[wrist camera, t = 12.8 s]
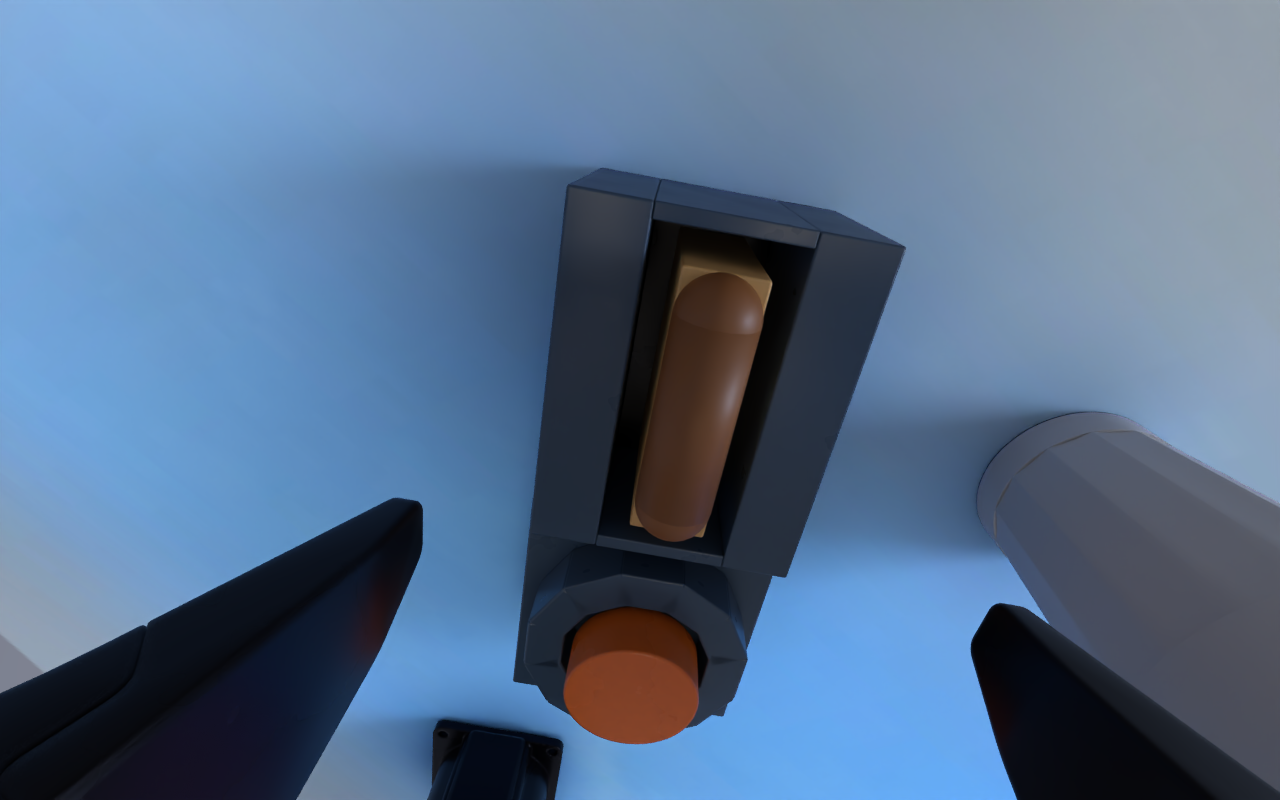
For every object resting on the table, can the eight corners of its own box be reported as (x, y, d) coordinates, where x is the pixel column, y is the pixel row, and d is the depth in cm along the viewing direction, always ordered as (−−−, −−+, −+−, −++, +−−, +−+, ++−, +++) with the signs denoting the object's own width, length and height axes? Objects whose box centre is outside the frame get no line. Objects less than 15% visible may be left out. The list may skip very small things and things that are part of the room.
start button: (683, 703, 19) (684, 754, 18) (565, 684, 19) (556, 733, 18) (709, 617, 18) (712, 665, 16) (580, 595, 18) (571, 641, 16)
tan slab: (696, 438, 20) (704, 564, 14) (640, 428, 20) (625, 550, 14) (745, 237, 17) (781, 293, 11) (680, 225, 17) (682, 275, 11)
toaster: (759, 466, 22) (786, 578, 16) (565, 433, 22) (528, 534, 16) (836, 211, 18) (907, 247, 12) (600, 167, 18) (566, 183, 12)
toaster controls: (716, 629, 25) (727, 765, 20) (537, 598, 25) (499, 727, 20) (766, 470, 22) (795, 583, 16) (557, 433, 22) (517, 535, 16)
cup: (918, 463, 21) (1169, 811, 10) (1147, 347, 19) (1778, 639, 8) (1002, 600, 24) (1276, 996, 13) (1214, 512, 21) (1764, 904, 11)
